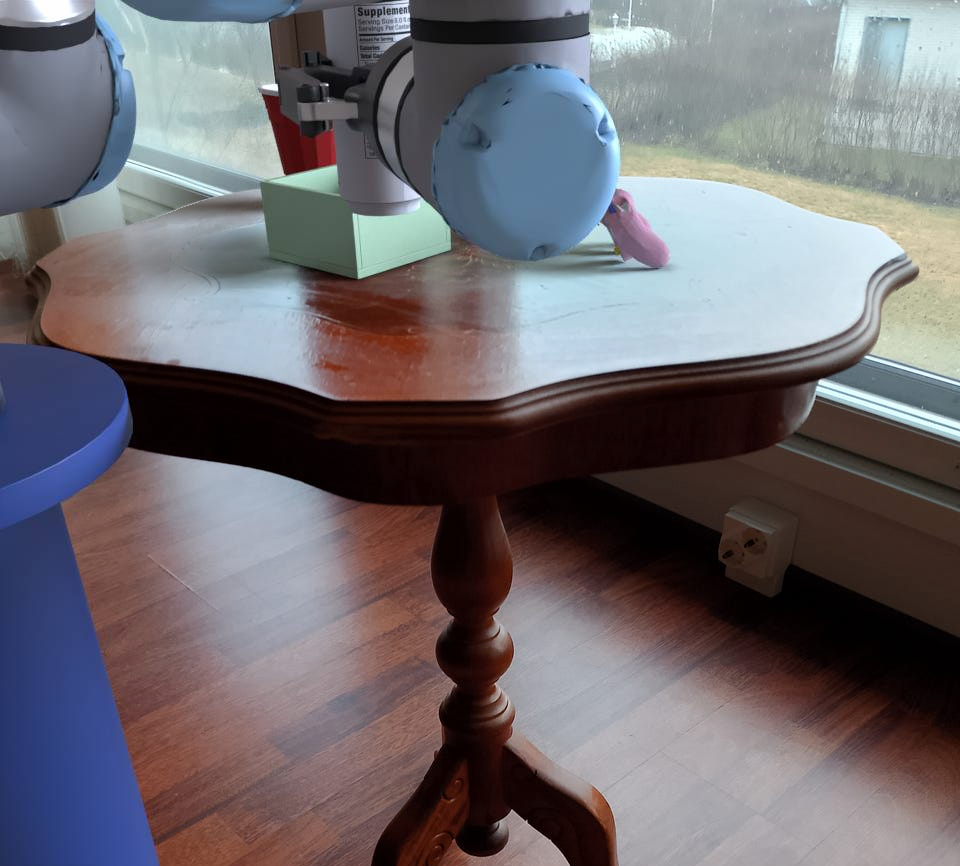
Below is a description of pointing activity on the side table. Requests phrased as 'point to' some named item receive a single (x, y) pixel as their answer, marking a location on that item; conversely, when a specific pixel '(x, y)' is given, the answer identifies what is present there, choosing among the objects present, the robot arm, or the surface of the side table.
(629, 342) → the side table surface
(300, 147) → the plastic cup
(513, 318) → the side table surface
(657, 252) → the pink toy bird
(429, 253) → the bin
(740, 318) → the side table surface
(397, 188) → the energy drink can
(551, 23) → the robot arm
